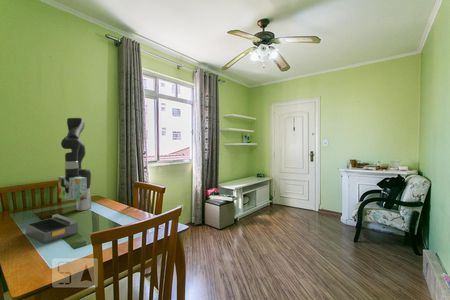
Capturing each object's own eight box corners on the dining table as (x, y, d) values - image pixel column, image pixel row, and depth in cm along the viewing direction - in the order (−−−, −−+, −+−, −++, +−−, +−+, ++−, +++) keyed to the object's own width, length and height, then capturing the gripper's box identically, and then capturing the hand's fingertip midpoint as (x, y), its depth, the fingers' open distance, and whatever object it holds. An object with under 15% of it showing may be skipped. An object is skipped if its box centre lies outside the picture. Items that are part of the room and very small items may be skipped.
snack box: (87, 198, 143) (87, 177, 142) (79, 201, 138) (79, 178, 137) (66, 196, 150) (65, 175, 149) (58, 198, 145) (57, 176, 144)
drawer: (58, 224, 140) (58, 213, 140) (78, 233, 127) (78, 220, 127) (26, 233, 126) (25, 221, 126) (44, 244, 113) (44, 230, 113)
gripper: (80, 166, 151) (81, 189, 152) (56, 168, 138) (57, 193, 139) (86, 166, 147) (86, 190, 148) (62, 169, 135) (63, 194, 136)
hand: (72, 191), depth 144 cm, fingers closed on snack box, 6 cm apart
